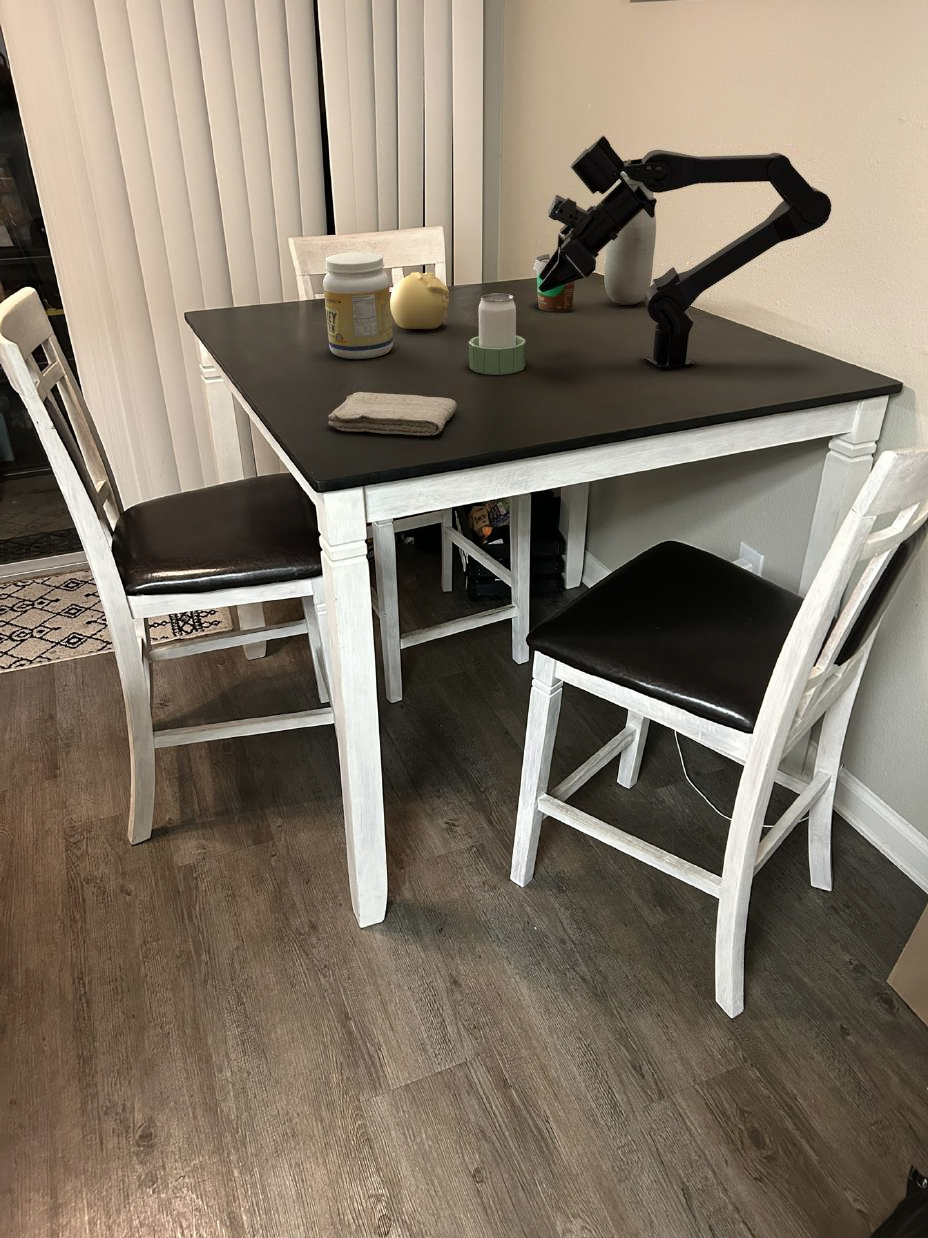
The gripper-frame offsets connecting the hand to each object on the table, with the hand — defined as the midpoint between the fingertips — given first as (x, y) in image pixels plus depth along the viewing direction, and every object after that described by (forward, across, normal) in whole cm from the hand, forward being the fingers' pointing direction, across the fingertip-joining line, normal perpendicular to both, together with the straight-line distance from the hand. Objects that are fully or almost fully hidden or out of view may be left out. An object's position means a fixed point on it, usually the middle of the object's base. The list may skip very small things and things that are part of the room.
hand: (540, 283), depth 158 cm
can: (+15, +2, +5) cm, 16 cm away
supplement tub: (+34, -8, -13) cm, 37 cm away
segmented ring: (+15, +2, +5) cm, 16 cm away
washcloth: (+26, +30, -5) cm, 40 cm away
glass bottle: (-4, -44, +23) cm, 50 cm away
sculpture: (+27, -26, -6) cm, 38 cm away
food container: (+8, -41, +12) cm, 43 cm away
